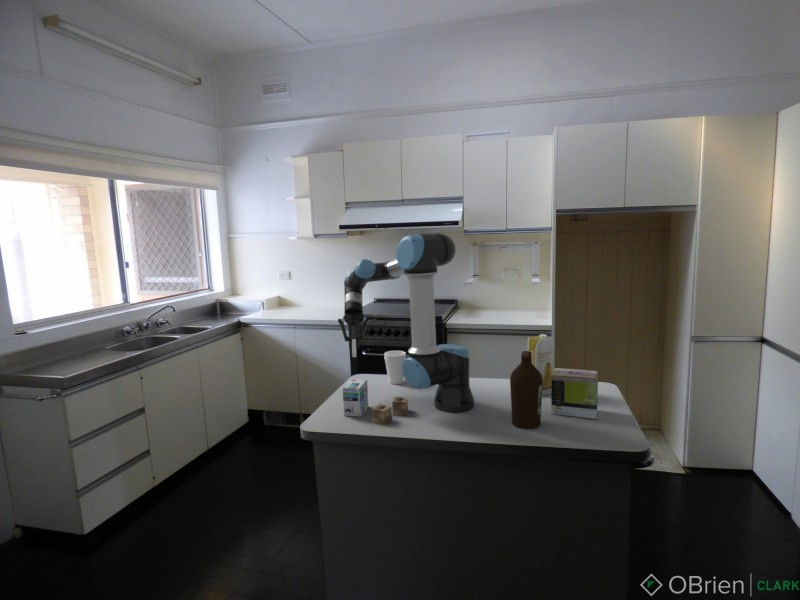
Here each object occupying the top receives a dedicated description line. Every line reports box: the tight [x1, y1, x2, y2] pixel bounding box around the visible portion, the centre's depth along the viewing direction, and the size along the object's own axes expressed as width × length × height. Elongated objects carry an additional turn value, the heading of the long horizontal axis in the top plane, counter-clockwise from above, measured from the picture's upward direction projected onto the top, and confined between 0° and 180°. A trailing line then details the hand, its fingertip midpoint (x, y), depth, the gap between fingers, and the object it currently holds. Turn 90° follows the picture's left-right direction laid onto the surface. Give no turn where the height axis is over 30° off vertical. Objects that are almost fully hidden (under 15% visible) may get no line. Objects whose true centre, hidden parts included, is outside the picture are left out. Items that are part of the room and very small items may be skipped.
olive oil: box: [509, 350, 543, 430], centre depth 161 cm, size 11×11×25 cm
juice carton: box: [527, 333, 555, 397], centre depth 191 cm, size 9×8×24 cm
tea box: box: [550, 367, 599, 420], centre depth 171 cm, size 15×10×15 cm, turn 65°
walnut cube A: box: [391, 396, 409, 416], centre depth 177 cm, size 5×5×5 cm
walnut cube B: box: [371, 403, 393, 426], centre depth 170 cm, size 5×5×5 cm
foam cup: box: [383, 350, 407, 385], centre depth 211 cm, size 10×9×13 cm
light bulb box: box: [342, 378, 369, 418], centre depth 179 cm, size 11×7×11 cm, turn 168°
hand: (354, 355), depth 185 cm, fingers closed
